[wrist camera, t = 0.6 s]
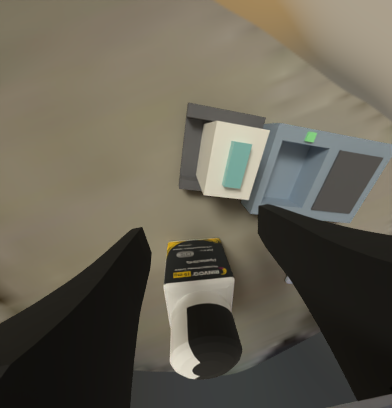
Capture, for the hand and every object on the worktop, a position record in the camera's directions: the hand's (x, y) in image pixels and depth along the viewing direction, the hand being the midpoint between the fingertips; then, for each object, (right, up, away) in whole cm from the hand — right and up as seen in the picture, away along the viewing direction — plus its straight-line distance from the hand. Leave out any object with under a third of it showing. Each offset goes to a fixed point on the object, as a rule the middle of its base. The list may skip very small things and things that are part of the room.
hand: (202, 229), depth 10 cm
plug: (+2, +7, +7) cm, 10 cm away
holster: (+2, +7, +7) cm, 11 cm away
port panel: (+12, +5, +9) cm, 16 cm away
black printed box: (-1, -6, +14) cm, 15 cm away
